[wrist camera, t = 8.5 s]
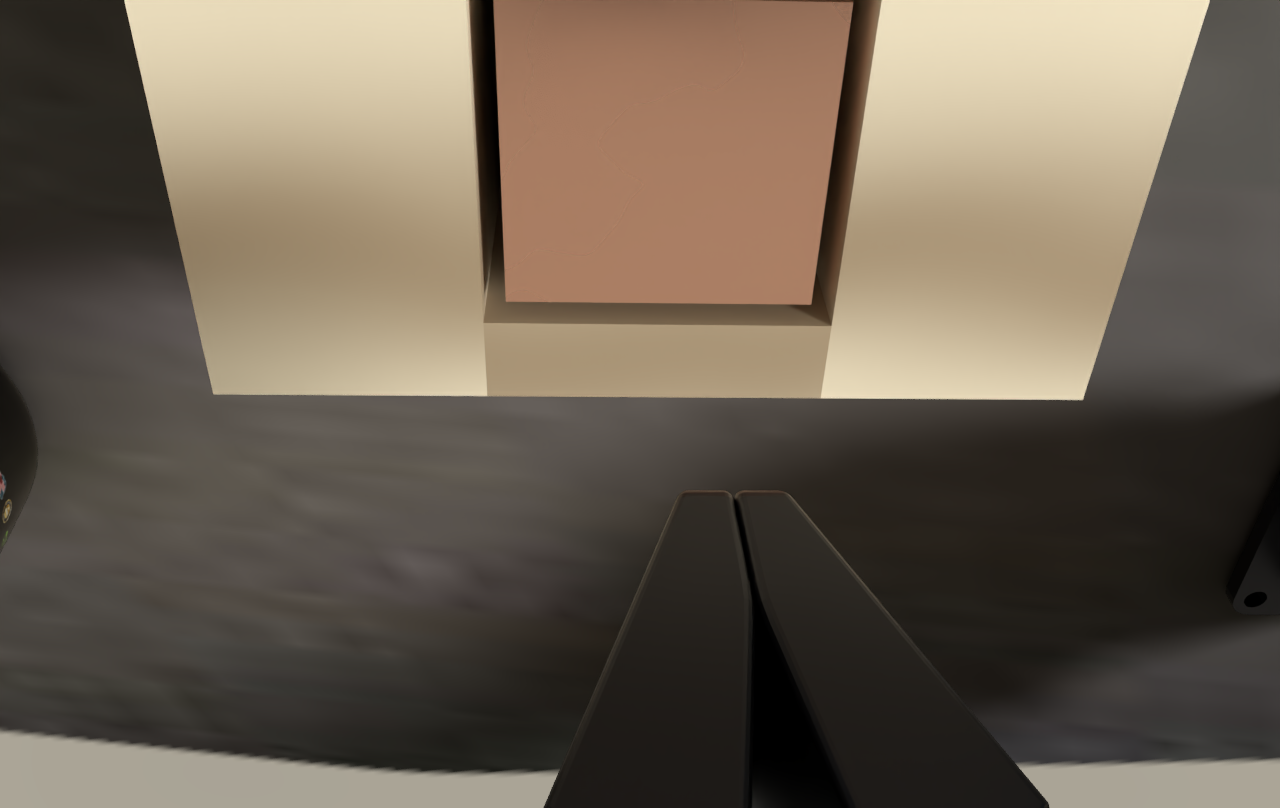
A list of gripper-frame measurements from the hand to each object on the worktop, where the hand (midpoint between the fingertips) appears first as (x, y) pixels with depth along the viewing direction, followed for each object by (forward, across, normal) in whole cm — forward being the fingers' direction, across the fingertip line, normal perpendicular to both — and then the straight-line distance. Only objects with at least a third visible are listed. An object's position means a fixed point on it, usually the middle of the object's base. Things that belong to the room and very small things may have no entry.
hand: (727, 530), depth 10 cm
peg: (+12, 0, 0) cm, 13 cm away
